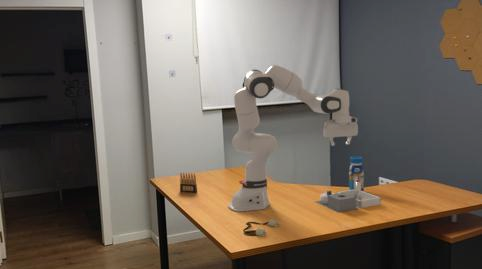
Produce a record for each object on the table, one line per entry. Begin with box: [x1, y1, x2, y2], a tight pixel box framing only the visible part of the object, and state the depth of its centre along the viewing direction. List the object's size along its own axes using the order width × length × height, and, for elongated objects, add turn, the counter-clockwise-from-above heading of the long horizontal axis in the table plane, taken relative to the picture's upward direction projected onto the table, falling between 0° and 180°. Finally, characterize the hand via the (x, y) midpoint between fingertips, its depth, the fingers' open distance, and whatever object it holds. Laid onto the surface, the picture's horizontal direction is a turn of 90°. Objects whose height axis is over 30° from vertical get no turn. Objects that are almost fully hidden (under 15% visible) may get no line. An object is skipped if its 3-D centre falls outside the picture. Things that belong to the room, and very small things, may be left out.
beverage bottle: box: [348, 156, 365, 192], centre depth 270 cm, size 8×8×20 cm
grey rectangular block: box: [315, 190, 359, 214], centre depth 240 cm, size 12×22×8 cm, turn 24°
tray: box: [336, 189, 382, 209], centre depth 246 cm, size 13×20×5 cm, turn 24°
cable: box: [242, 218, 280, 237], centre depth 214 cm, size 16×16×4 cm
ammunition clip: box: [179, 172, 198, 194], centre depth 282 cm, size 11×2×12 cm, turn 71°
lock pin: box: [356, 178, 362, 201], centre depth 245 cm, size 2×2×12 cm
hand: (340, 145), depth 250 cm, fingers open, 8 cm apart
